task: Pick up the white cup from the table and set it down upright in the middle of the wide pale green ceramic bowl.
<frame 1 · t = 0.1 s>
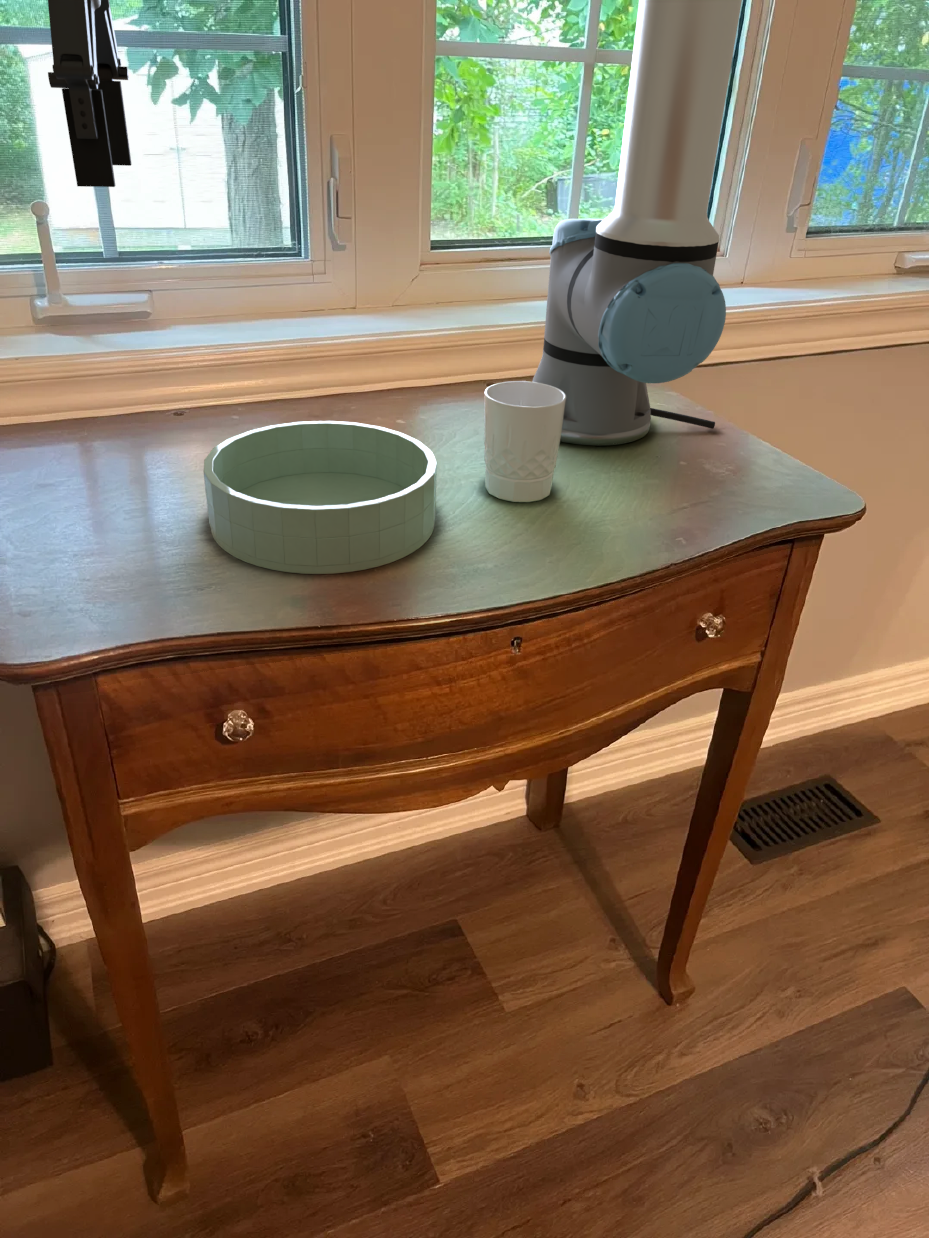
hand: (106, 175, 78), 28 cm above the table, tool pointing down, fingers open, 13 cm apart
white cup: (517, 491, 96), on the table
bowl: (324, 520, 88), on the table
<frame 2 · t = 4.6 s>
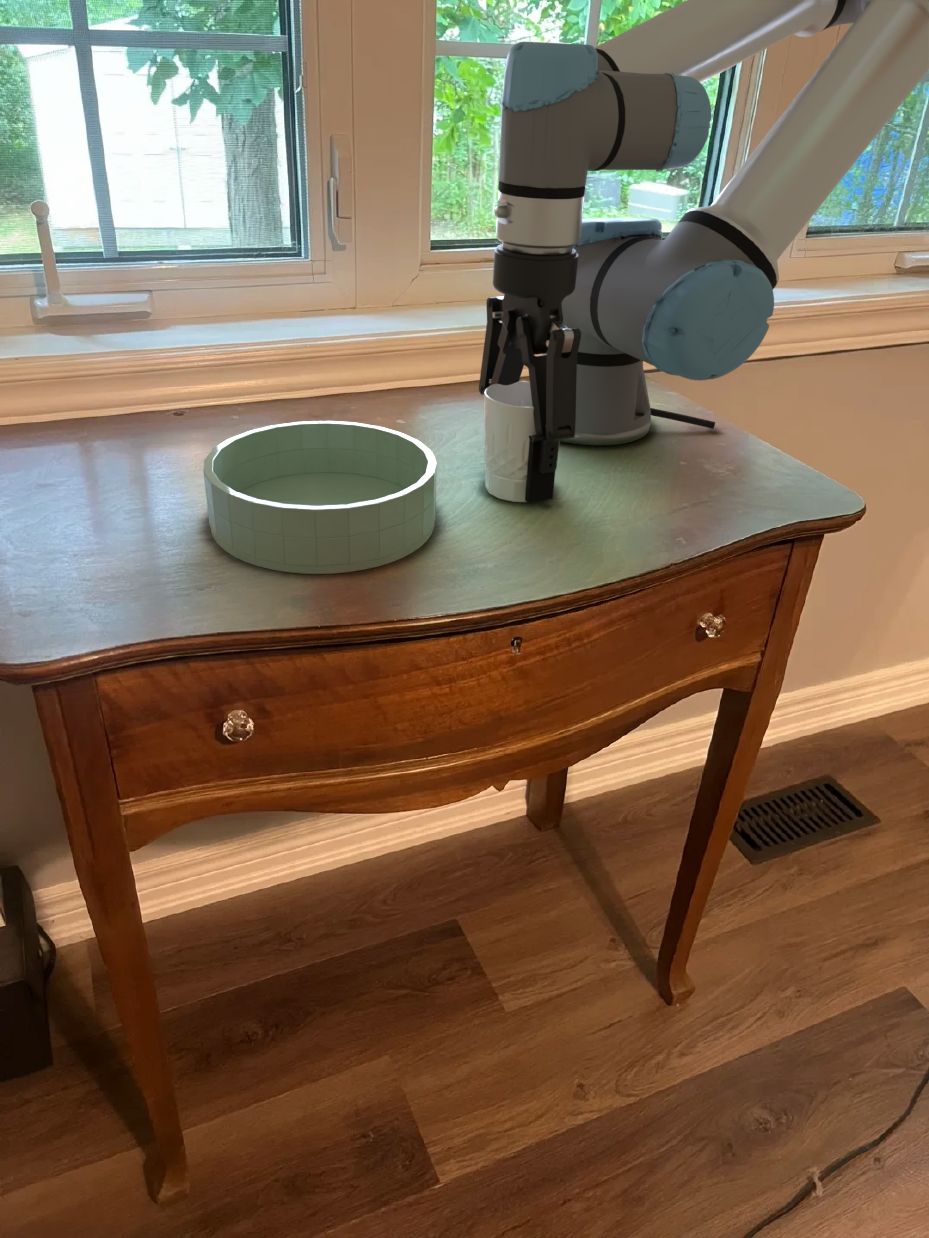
hand: (518, 483, 95), 1 cm above the table, tool pointing down, fingers closed on white cup, 8 cm apart
white cup: (518, 491, 96), on the table, touching gripper
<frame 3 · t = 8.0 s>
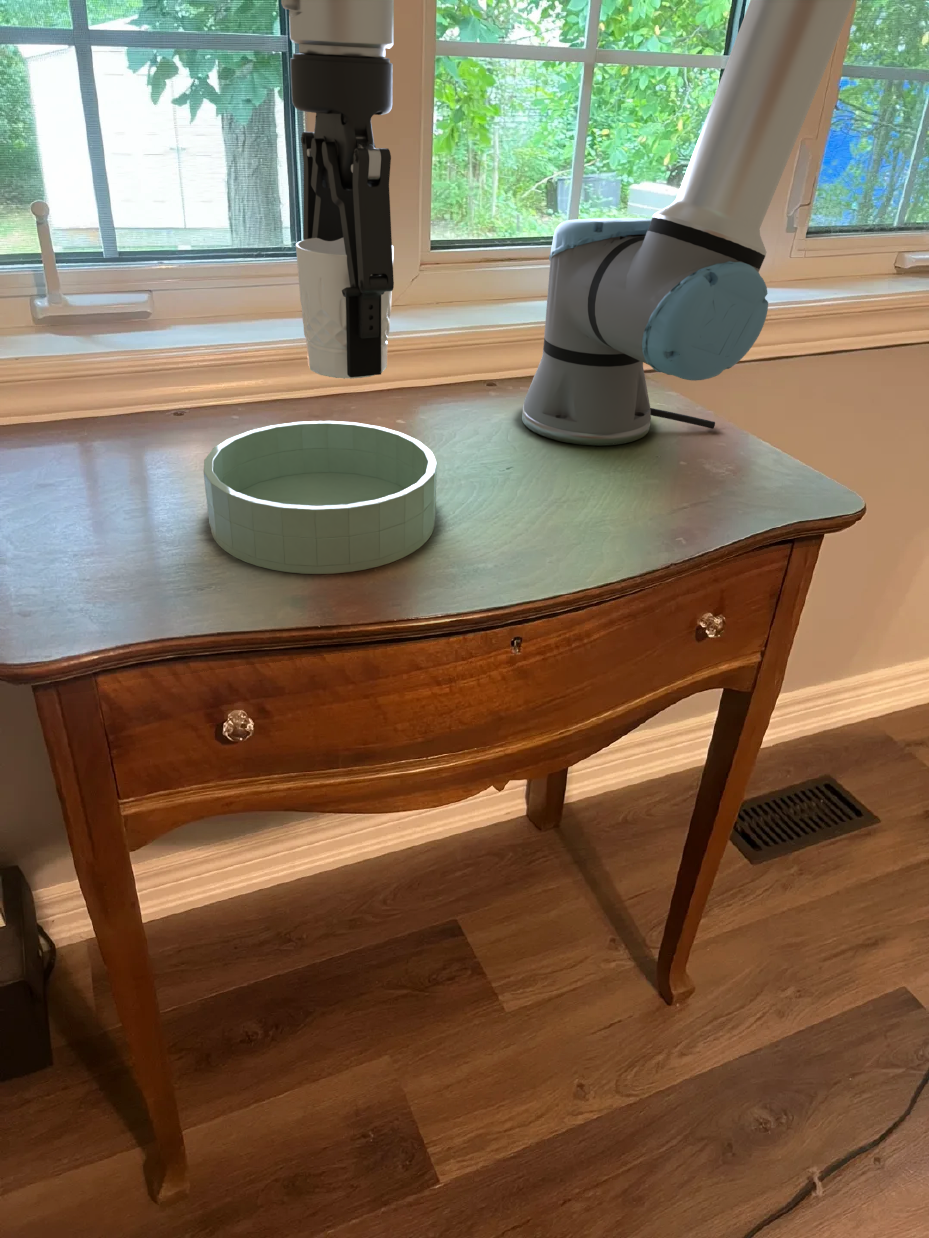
hand: (347, 360, 81), 15 cm above the table, tool pointing down, fingers closed on white cup, 8 cm apart
white cup: (347, 370, 81), point 14 cm above the table, touching gripper
when the fingers open (1 cm above the table, at t = 11.6 s): white cup stays where it is, resting on bowl.
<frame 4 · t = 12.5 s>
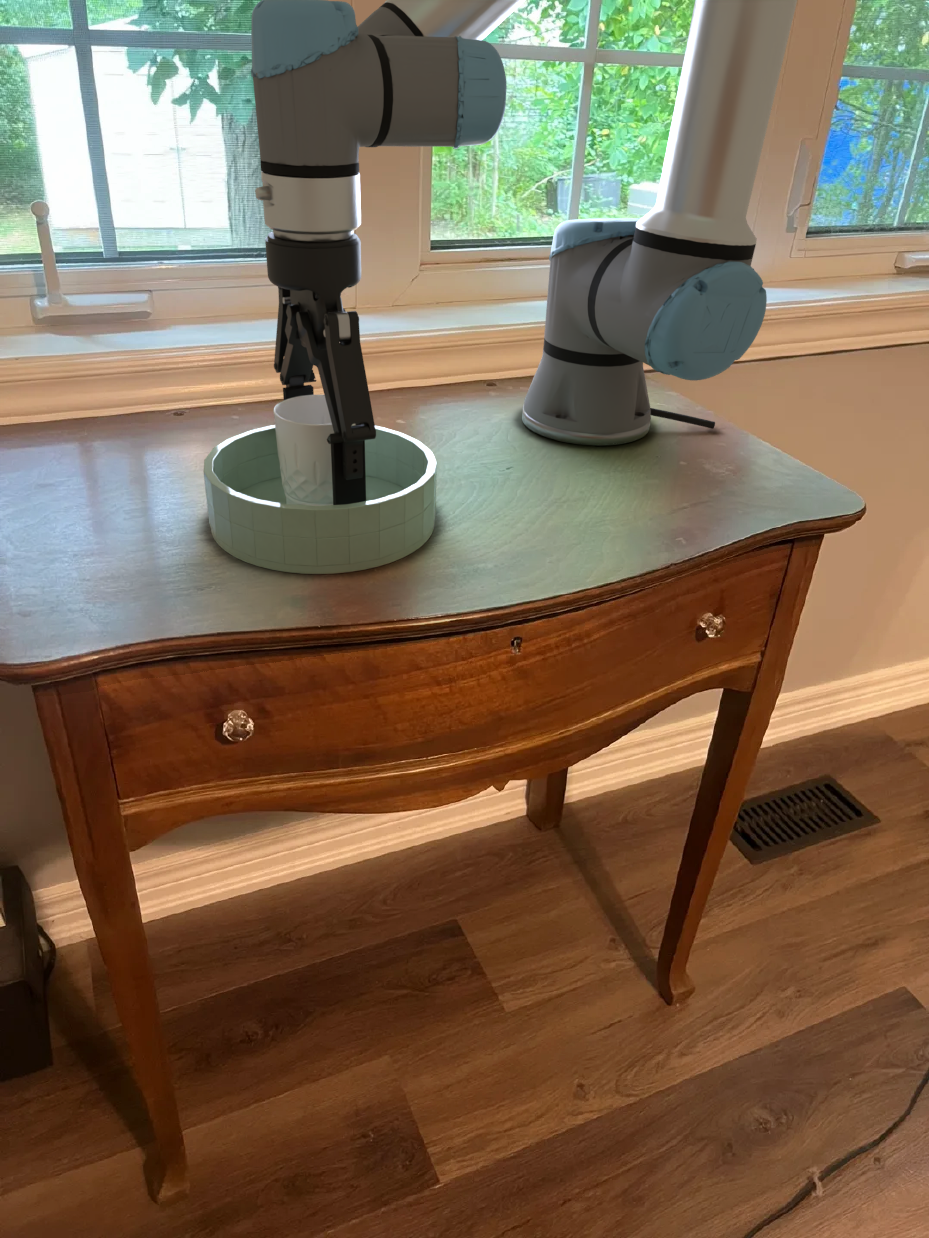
hand: (324, 480, 86), 4 cm above the table, tool pointing down, fingers open, 13 cm apart
white cup: (323, 515, 87), point 1 cm above the table, touching bowl
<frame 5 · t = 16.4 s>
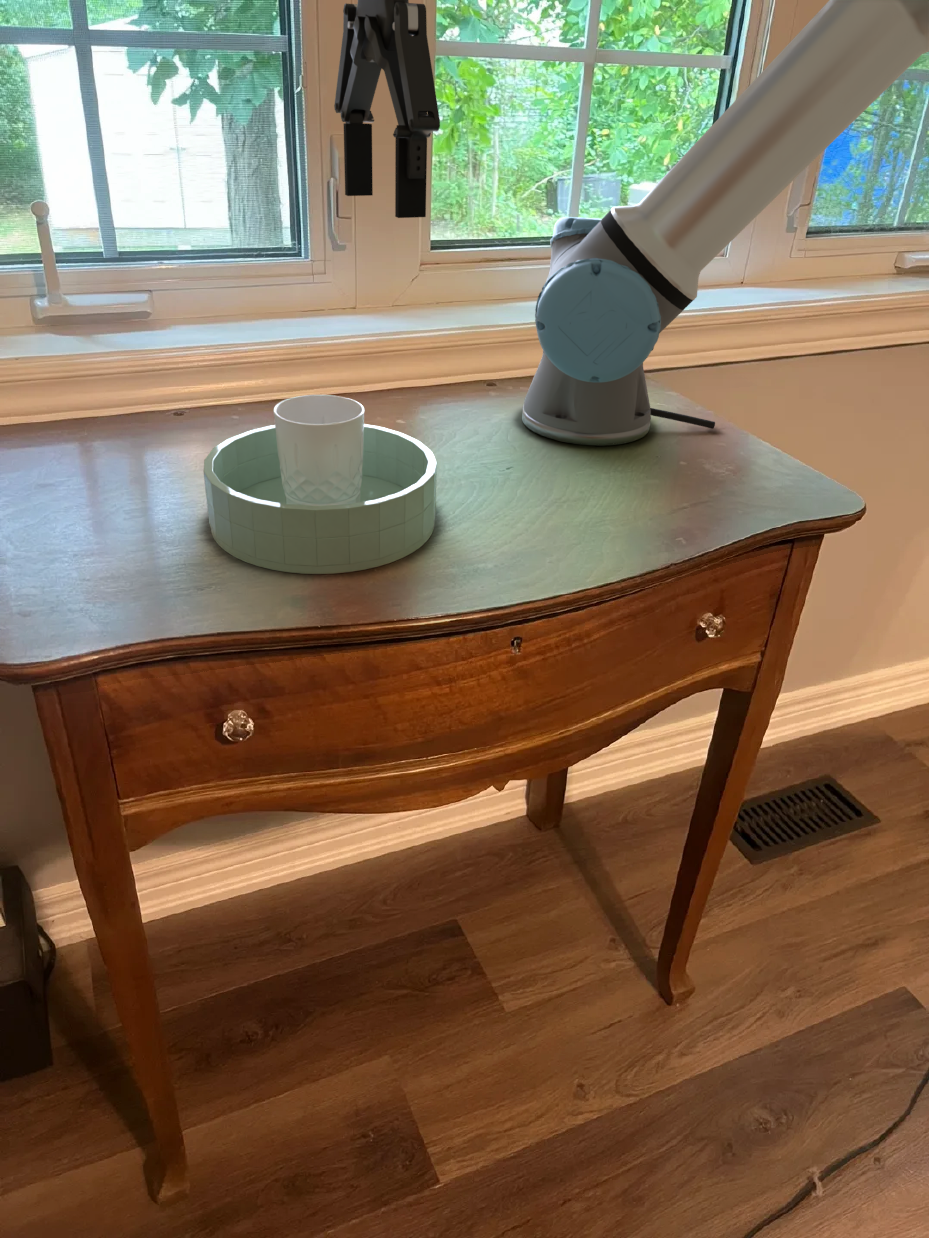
hand: (383, 206, 91), 25 cm above the table, tool pointing down, fingers open, 13 cm apart
nothing on the table moved.
at the end: white cup inside the target area in the bowl (0.1 cm from its centre), point 0.6 cm above the bowl's base; white cup tilted 0°; the gripper is holding nothing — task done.
